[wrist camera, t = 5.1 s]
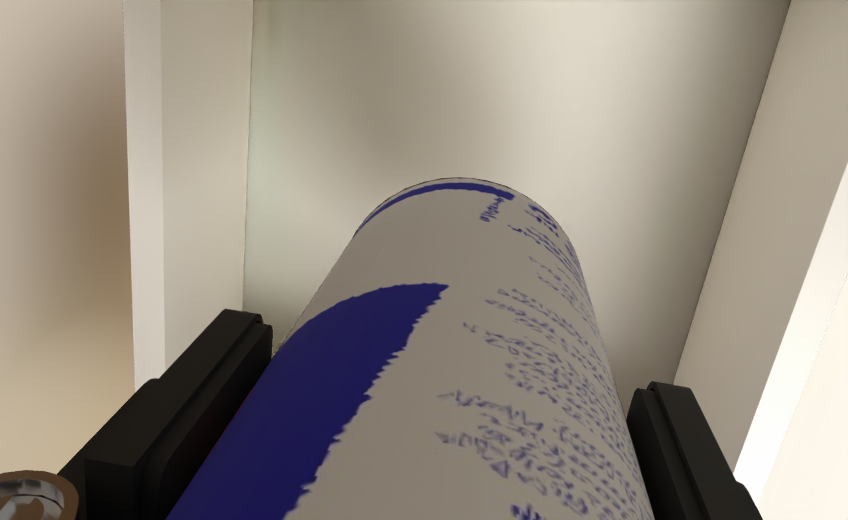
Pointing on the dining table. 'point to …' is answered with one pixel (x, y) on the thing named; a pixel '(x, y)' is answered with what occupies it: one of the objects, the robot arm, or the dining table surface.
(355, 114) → the dining table surface
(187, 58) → the case
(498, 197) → the beverage can
